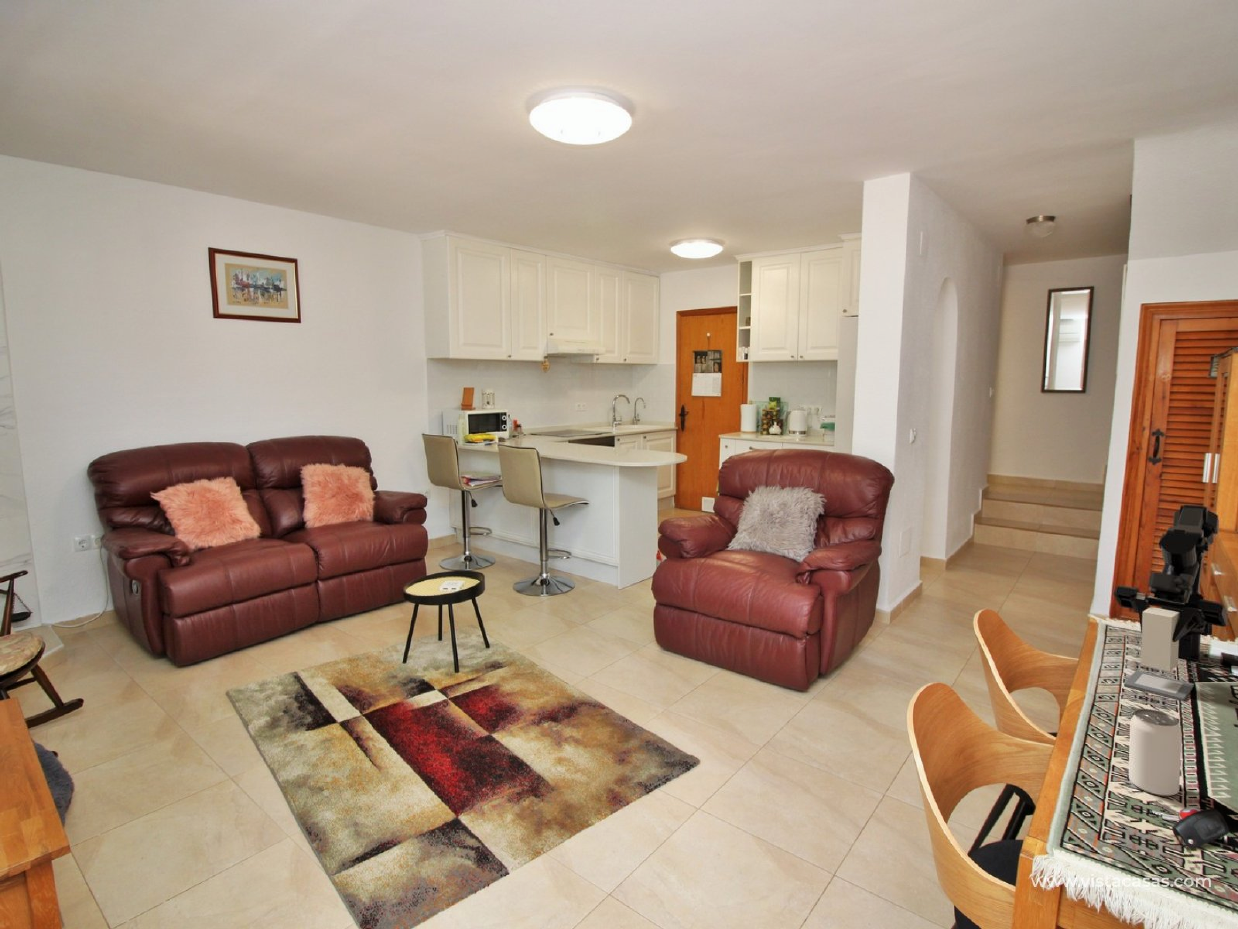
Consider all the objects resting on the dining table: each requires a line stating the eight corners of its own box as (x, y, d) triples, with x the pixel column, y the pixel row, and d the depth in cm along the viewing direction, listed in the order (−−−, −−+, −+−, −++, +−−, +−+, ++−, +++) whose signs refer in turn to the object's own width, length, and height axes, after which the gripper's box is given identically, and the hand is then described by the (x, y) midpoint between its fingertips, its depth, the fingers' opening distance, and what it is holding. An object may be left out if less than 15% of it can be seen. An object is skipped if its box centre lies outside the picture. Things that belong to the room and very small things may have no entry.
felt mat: (1136, 672, 147) (1136, 669, 147) (1193, 686, 139) (1193, 683, 139) (1124, 686, 141) (1124, 683, 141) (1183, 701, 133) (1183, 698, 133)
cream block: (1149, 658, 143) (1151, 606, 142) (1177, 665, 139) (1179, 612, 138) (1140, 664, 140) (1142, 611, 139) (1169, 671, 136) (1171, 617, 135)
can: (1159, 774, 109) (1162, 707, 107) (1189, 798, 102) (1192, 727, 101) (1119, 774, 109) (1121, 707, 108) (1146, 797, 103) (1148, 726, 102)
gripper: (1117, 551, 147) (1097, 607, 142) (1226, 566, 132) (1207, 630, 127) (1130, 577, 152) (1110, 633, 147) (1235, 595, 137) (1218, 657, 132)
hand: (1157, 637), depth 138 cm, fingers closed on cream block, 5 cm apart
